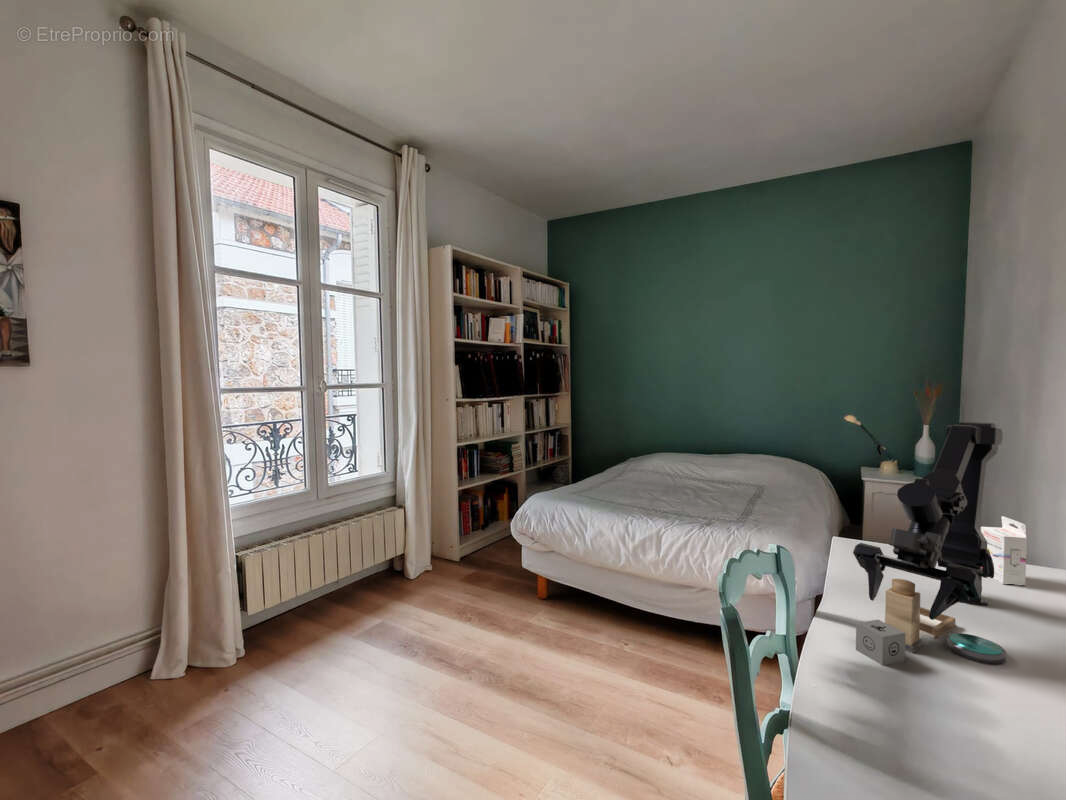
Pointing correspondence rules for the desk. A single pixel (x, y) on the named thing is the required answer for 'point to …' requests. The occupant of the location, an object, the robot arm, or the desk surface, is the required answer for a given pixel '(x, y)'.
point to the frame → (934, 624)
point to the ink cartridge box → (1007, 551)
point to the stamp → (904, 611)
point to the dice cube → (880, 642)
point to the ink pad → (976, 648)
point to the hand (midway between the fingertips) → (899, 608)
